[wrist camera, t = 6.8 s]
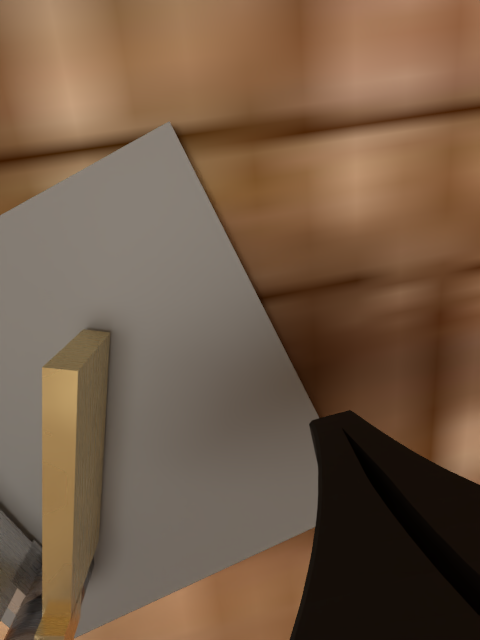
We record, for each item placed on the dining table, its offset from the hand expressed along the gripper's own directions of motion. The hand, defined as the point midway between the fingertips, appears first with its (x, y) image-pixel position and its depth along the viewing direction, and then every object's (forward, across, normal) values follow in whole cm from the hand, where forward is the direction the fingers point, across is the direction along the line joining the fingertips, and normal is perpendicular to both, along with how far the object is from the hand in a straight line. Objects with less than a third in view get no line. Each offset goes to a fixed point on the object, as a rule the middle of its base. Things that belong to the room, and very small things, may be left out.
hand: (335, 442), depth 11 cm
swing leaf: (+4, +11, +2) cm, 12 cm away
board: (+5, +10, +1) cm, 11 cm away
